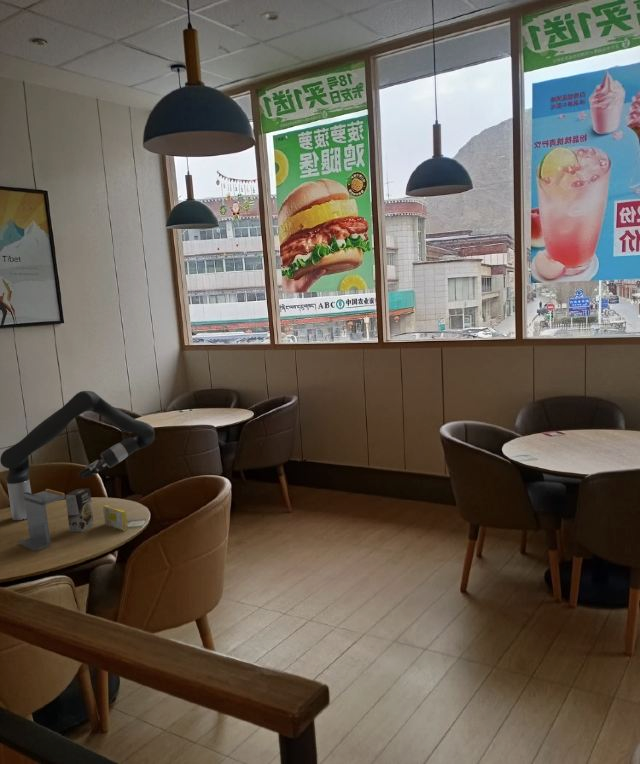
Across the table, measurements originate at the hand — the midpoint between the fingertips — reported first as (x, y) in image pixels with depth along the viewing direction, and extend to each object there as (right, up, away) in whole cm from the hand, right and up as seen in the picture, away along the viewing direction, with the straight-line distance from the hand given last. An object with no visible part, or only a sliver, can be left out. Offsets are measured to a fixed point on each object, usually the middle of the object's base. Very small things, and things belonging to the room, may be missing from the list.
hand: (81, 476), depth 261 cm
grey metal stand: (-11, -25, -10) cm, 29 cm away
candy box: (+14, -22, +1) cm, 26 cm away
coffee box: (-1, -23, +3) cm, 23 cm away
